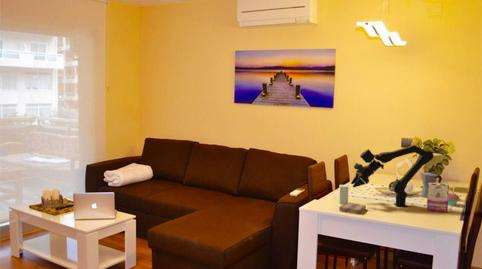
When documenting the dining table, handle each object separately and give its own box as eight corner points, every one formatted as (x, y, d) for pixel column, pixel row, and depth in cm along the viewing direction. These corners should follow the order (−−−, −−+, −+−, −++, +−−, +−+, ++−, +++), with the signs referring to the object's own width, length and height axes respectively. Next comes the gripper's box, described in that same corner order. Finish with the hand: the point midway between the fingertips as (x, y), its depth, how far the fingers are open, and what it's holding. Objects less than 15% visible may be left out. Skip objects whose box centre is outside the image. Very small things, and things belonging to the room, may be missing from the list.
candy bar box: (447, 210, 261) (448, 183, 259) (447, 212, 256) (449, 184, 254) (426, 208, 265) (427, 181, 263) (426, 210, 260) (428, 183, 258)
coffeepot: (415, 195, 296) (416, 168, 295) (423, 193, 302) (425, 167, 300) (436, 200, 284) (437, 172, 282) (444, 198, 289) (446, 171, 287)
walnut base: (339, 211, 258) (339, 207, 257) (345, 206, 268) (345, 202, 268) (359, 214, 252) (360, 210, 251) (365, 209, 262) (365, 205, 261)
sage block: (339, 201, 278) (339, 184, 277) (347, 202, 278) (347, 185, 277) (339, 204, 274) (340, 186, 272) (347, 204, 273) (348, 186, 272)
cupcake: (462, 206, 270) (463, 187, 269) (449, 206, 269) (450, 187, 267) (453, 202, 278) (454, 183, 277) (440, 203, 277) (441, 184, 276)
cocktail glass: (447, 188, 317) (449, 154, 314) (432, 191, 306) (434, 156, 304) (424, 184, 331) (426, 150, 329) (409, 187, 321) (411, 152, 319)
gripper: (360, 156, 280) (341, 173, 283) (364, 161, 262) (344, 179, 265) (372, 169, 280) (353, 185, 283) (377, 175, 262) (357, 192, 265)
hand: (352, 185), depth 274 cm, fingers open, 9 cm apart
